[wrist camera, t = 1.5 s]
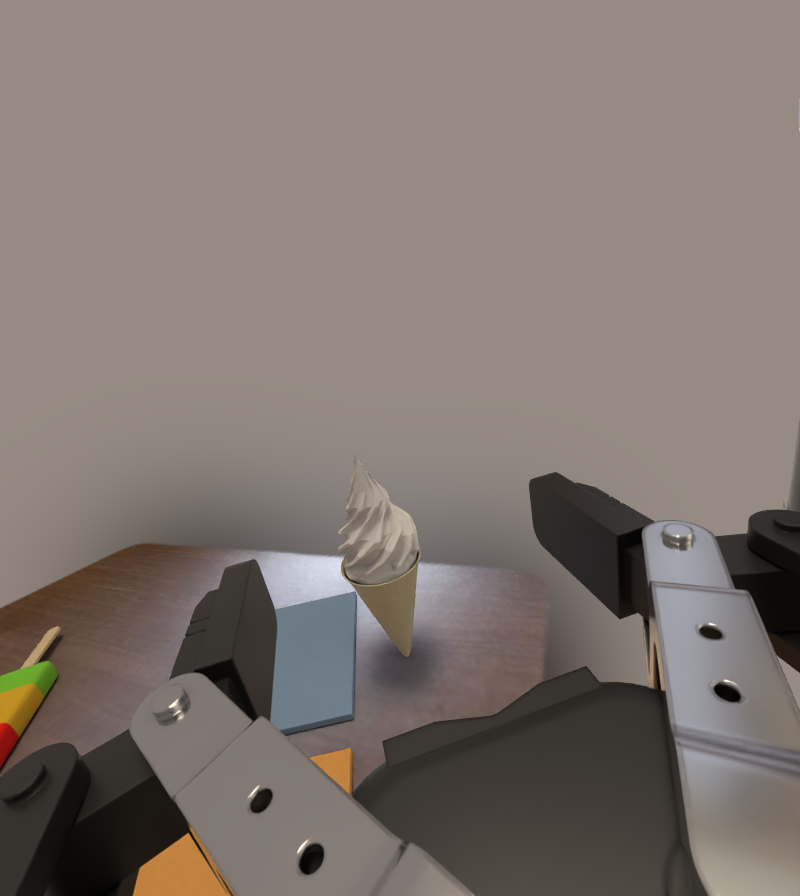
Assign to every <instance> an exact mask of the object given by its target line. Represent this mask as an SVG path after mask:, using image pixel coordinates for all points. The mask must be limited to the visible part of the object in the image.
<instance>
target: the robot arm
mask: <svg viewBox="0 0 800 896" xmlns="http://www.w3.org/2000/svg"><path fill="white" fill-rule="evenodd" d="M798 116H799V130H800V101H799V114H798ZM529 491H530V500H531V509H532V519H533V527H534V531H535V534H536V536H537V538H538V540H539V542H540V544H541V545H542V546H543V547H544V548H545V549H546V550H547V551H548V552H549V553H550V554H551V555H552V556H553V557H555V558H556V559H557V560H558V561H559V562H560V563H561V564H562V565H563V566H564V567H565V568H566V569H567V570H568V571H569V572H570V573H572V574H573V576H575V577H576V578H577V579H578V580H579V581H580V582H581V583H582V584H583V585H584V586H585V587H586V588H587V589H588V590H589V591H590V592H591V593H593V594H594V595H595V596H596V597H597V598H598V599H599V600H600V601H601V602H602V603H603V604H604V605H605V606H606V607H607V608H608V609H609V610H610V611H611V612H613V613H614V614H615V615H616V616H617V617H618V618H619V619H622V618H624V617H628V616H630V615H633V614H636V613H639V614H640V615H641V616H642V617H643V636H644V645H645V656H646V667H647V677H648V687H647V686H641V685H636V684H632V683H623V682H622V683H621V682H599V681H598V680H597V679H596V677H595V676H594V675H593V674H592V672H591V671H590V670H589V669H588V668H587V667H586V666H585V667H582V668H580V669H577V670H574V671H572V672H569V673H566V674H564V675H561V676H558V677H555V678H553V679H550V680H547V681H545V682H542V683H539V684H538V685H536V686H535V687H533V688H532V689H531V690H529V691H528V692H527V693H525V694H524V695H522V696H521V697H520V698H518V699H517V700H515V701H514V702H513V703H511V704H510V705H508V706H507V707H506V708H504V709H503V710H501V711H500V712H498V713H497V714H495V715H491V716H485V717H475V718H466V719H456V720H447V721H438V722H433V723H431V724H428V725H425V726H422V727H420V728H417V729H414V730H412V731H409V732H406V733H404V734H401V735H398V736H395V737H393V738H390V739H387V740H385V741H382V742H383V747H384V752H385V757H386V762H385V763H383V764H382V765H380V766H379V767H378V768H376V769H375V770H374V771H373V772H372V773H371V774H370V775H369V776H367V777H366V778H365V779H364V780H363V782H362V783H361V784H360V785H359V786H358V787H357V788H356V789H355V790H354V792H353V793H352V794H351V795H350V794H349V793H348V792H346V791H345V790H344V789H343V788H342V787H341V786H340V785H339V784H338V783H337V782H335V781H334V780H333V779H332V778H331V777H330V776H329V775H328V774H327V773H326V772H324V771H323V770H322V769H321V768H320V767H319V766H318V765H317V764H316V763H315V762H313V761H312V760H311V759H310V758H309V757H308V756H307V755H306V754H305V753H304V752H302V751H301V750H300V749H299V748H298V747H297V746H296V745H295V744H294V743H293V742H291V741H290V740H289V739H288V738H287V737H286V736H285V735H284V734H283V733H282V732H280V731H279V730H278V729H277V728H276V727H275V726H274V725H273V724H272V723H271V722H270V718H271V706H272V693H273V680H274V667H275V655H276V642H277V618H276V612H275V609H274V605H273V602H272V600H271V597H270V594H269V592H268V589H267V586H266V584H265V581H264V578H263V575H262V573H261V570H260V567H259V565H258V563H257V561H256V560H255V559H253V560H249V561H246V562H243V563H239V564H236V565H232V566H229V567H226V568H225V570H224V573H223V576H222V579H221V583H220V586H219V589H217V590H213V591H210V592H208V593H207V594H206V595H205V597H204V598H203V599H202V600H201V601H200V603H199V604H198V605H197V606H196V607H195V610H194V613H193V615H192V618H191V621H190V625H189V626H188V629H187V632H186V634H185V636H186V638H184V640H183V643H182V645H181V648H180V651H179V654H178V656H177V659H176V662H175V664H174V667H173V670H172V673H171V675H170V678H169V680H168V681H167V682H165V683H163V684H162V685H160V686H159V687H157V688H156V689H155V690H154V691H152V692H151V693H150V694H149V695H148V696H147V697H146V698H145V699H144V700H143V701H142V702H141V703H140V705H139V706H138V707H137V709H136V710H135V712H134V714H133V716H132V718H131V721H130V726H129V729H128V730H127V731H125V732H123V733H122V734H120V735H118V736H117V737H115V738H113V739H111V740H110V741H108V742H106V743H104V744H103V745H101V746H99V747H97V748H96V749H94V750H92V751H91V752H89V753H87V754H85V755H84V756H82V757H81V756H80V754H79V753H78V751H77V750H76V748H75V747H74V746H73V745H72V744H69V743H57V744H53V745H50V746H47V747H44V748H42V749H40V750H38V751H36V752H34V753H32V754H31V755H29V756H27V757H26V758H24V759H23V760H21V761H20V762H19V763H17V764H16V765H14V766H13V767H12V768H11V769H10V770H8V771H7V772H6V773H5V774H4V775H3V776H2V777H1V778H0V896H133V893H134V889H135V885H136V881H137V877H138V873H139V869H140V867H142V866H143V865H144V864H146V863H147V862H149V861H150V860H151V859H153V858H154V857H156V856H157V855H158V854H160V853H161V852H163V851H164V850H165V849H167V848H168V847H169V846H171V845H172V844H174V843H175V842H176V841H178V840H179V839H181V838H182V837H183V836H185V835H186V834H189V836H190V837H191V839H192V841H193V842H194V844H195V845H196V847H197V849H198V850H199V852H200V853H201V855H202V856H203V858H204V860H205V861H206V863H207V864H208V866H209V868H210V869H211V871H212V872H213V874H214V876H215V877H216V879H217V880H218V882H219V884H220V885H221V887H222V888H223V890H224V892H225V893H226V895H227V896H800V710H799V708H798V706H797V703H796V701H795V698H794V696H793V693H792V691H791V689H790V687H789V684H788V682H787V679H786V677H785V674H784V672H783V670H782V667H781V665H780V663H779V660H778V658H777V656H778V657H780V658H781V659H782V660H784V661H785V662H786V663H787V664H789V665H790V666H791V667H793V668H794V669H795V670H797V671H798V672H799V673H800V419H799V426H798V434H797V441H796V448H795V456H794V462H793V469H792V476H791V484H790V490H789V498H788V504H787V510H786V509H785V504H784V501H783V508H782V510H765V511H760V512H757V513H755V514H753V515H751V516H750V518H749V522H748V533H747V534H736V535H725V536H714V535H713V534H712V533H711V532H710V531H709V530H707V529H705V528H703V527H701V526H699V525H696V524H693V523H689V522H684V521H676V520H665V521H658V522H655V521H653V520H651V519H649V518H647V517H646V516H644V515H642V514H641V513H639V512H637V511H635V510H634V509H632V508H630V507H629V506H627V505H625V504H623V503H622V504H621V503H620V501H618V500H617V499H615V498H613V497H609V495H608V494H606V493H604V492H603V491H601V490H599V489H597V488H595V487H592V486H588V485H585V484H581V483H574V482H572V481H571V480H569V479H567V478H566V477H564V476H562V475H561V474H559V473H557V472H554V473H550V474H547V475H544V476H540V477H537V478H534V479H531V481H530V483H529ZM776 655H777V656H776Z"/></svg>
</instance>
